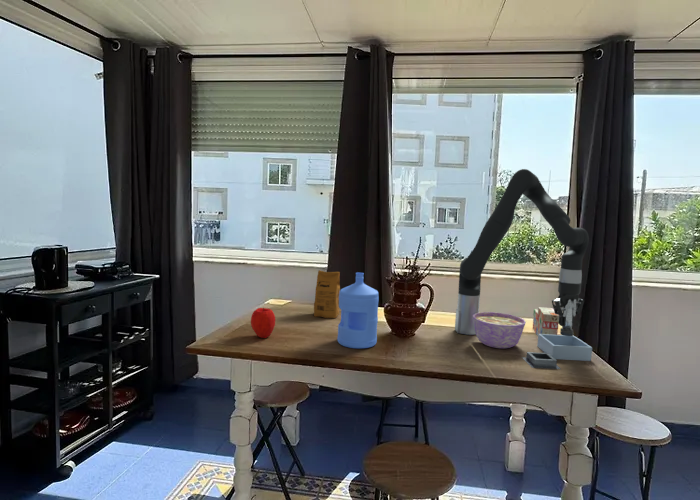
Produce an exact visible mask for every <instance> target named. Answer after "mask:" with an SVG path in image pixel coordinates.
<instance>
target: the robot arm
mask: <svg viewBox="0 0 700 500" xmlns="http://www.w3.org/2000/svg"><path fill="white" fill-rule="evenodd" d="M522 196H525V197H526V198H527V199H528V200H530V201H531V202H532V203H533V204H534V205H535V207H536V208H537V210H538V211H539V212H540V214H541V216H542V217H543V218H544V220H545V221H546V222H547V223H548V224H549V226H550V227H551V228H552V230H553V232H554V234H555V237H556V238H557V241H558V242H559V243H560V244H562V246H564V247H567V248H568V251H567V252H564V253H563V254H562V255H561V260H560V269H559V270H560V271H559V274H558V275H559V276H558V287H557V292H558V294H559V295H558V297H557V298H556V299H552V300H551V304H552V308H553V309H554V312H555V314H557V315H559V324H558V326H561V327H562V326H565V321H566V317H565V316H566V312H567V311H568V309H569V304H570V303H571V301H572V302H573V304H574V307H573V311H572V327H573V326H574V323H575V317H576V315H580V313H581V311H582V308H583V306H584V304H585V300H584V299H582V298H580V297H579V295H580V294H581V289H582V278H583V276H582V275H583V273H582V268H583V259H584V257H585V254H586V251H587V248H588V246H589V241H590V240H589V239H590V238H589V233H588V231H587V230H586V229H585V228H582V227H572V226H571V218H570V216H569V215H568V214H567V213H566V211H564V210H563V208H561V206H560V205H559V204H558V203H557V202H556V201H555V200H554V199H553V198H552V197H551V196H550V195H549V194H548V192H547V191H546V189H545V188H544V186H543V185H542V183H541V181H540V179H539V177H538V176H537V175H536V174H535V173H533V172H532V171H530V170H529V169H527V168H520V169H519V170H517V171H516V172H515V173H513V175H512V177H511V178H510V181H509V182H508V184H507V185H506V189H504V192H503V195H502V197H501V198H500V200H499V202H498V203H497V205H496V207H495V209H493V212H492V213H491V214H490V216H489V218H488V219H487V221H486V223H485V224H484V226H483V228H482V230H481V233H480V234H479V237H478V240H477V242H476V244H475V246H474V248H473V249H472V250H471V252H470V253H469V255H467V257H465V258H464V259H463V260H461V262H460V265H459V276H458V291H457V293H458V295H457V306H456V309H455V319H454V331H455V332H456V333H457V334H461V335H468V336H472V335H476V332H475V326H474V320H473V315H474V314H476V313H480V301H481V299H480V298H481V282H482V280H481V279H482V273H483V271H484V268H485V266H486V264H487V263H488V262H489V261H488V260H489V259H490V256H491V255H492V254H493V253H494V251H495V250H496V248H497V247H498V246H499V245H500V243H502V240H503V239H504V237H506V234H507V233H508V231H509V230H510V228H511V226H512V224H513V221H514V216H515V211H516V207H517V204H518V202H519V201H520V199H521V197H522ZM563 307H565V308H563Z"/></svg>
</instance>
